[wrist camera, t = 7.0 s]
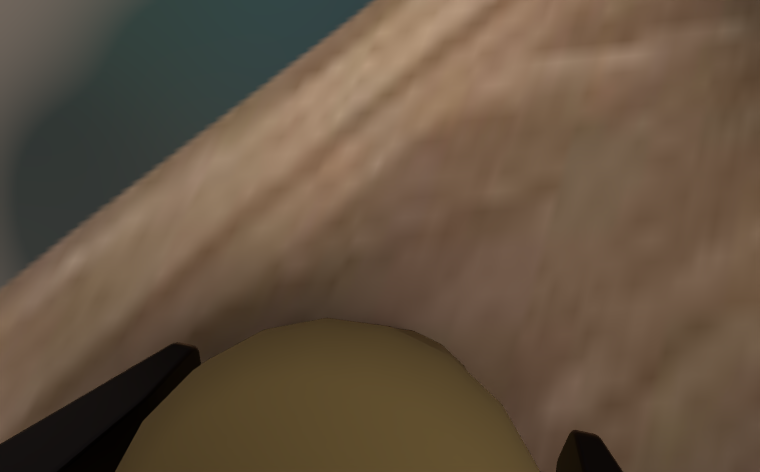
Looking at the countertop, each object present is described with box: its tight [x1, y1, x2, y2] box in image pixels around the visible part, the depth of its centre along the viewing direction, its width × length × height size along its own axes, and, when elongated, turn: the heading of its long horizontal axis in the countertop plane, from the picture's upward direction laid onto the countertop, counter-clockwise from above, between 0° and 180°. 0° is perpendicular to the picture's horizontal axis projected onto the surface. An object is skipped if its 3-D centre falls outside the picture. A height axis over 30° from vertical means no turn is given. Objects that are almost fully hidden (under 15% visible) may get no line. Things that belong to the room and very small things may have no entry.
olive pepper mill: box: [115, 318, 540, 472], centre depth 10 cm, size 6×6×11 cm
